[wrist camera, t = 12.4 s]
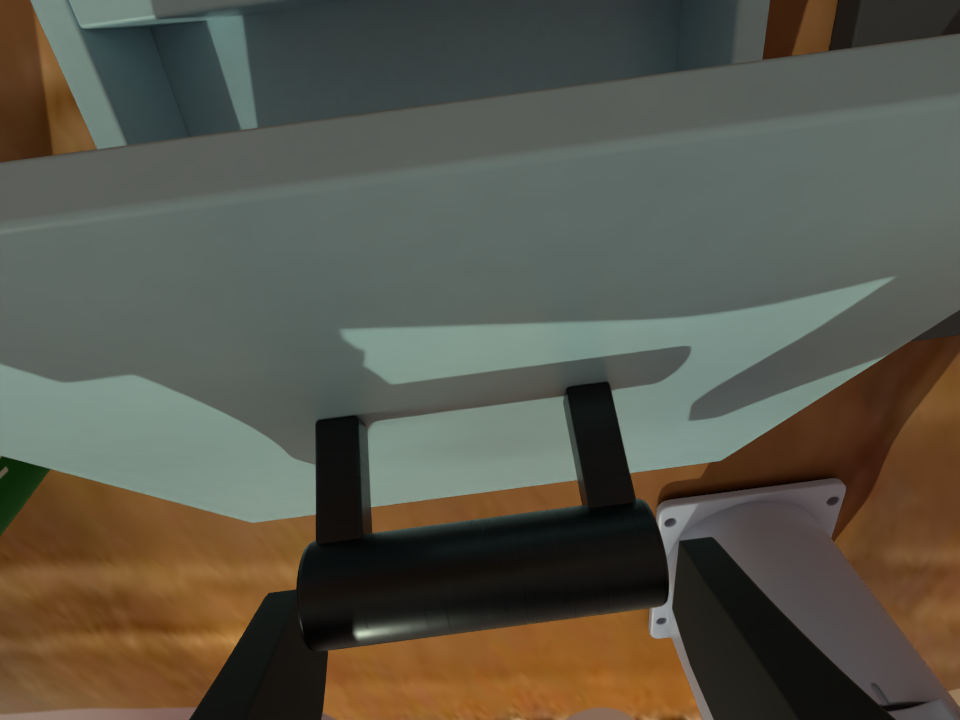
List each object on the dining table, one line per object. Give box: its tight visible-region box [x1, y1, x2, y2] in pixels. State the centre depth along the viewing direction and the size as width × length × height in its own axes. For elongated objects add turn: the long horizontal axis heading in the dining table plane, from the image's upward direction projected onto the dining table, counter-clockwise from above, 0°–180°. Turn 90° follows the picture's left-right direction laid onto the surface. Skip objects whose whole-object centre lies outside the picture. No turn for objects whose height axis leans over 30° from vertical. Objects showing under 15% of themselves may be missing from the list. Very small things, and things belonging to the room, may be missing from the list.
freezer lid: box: [0, 33, 960, 652], centre depth 10 cm, size 14×14×4 cm
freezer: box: [30, 0, 770, 149], centre depth 16 cm, size 13×14×4 cm
